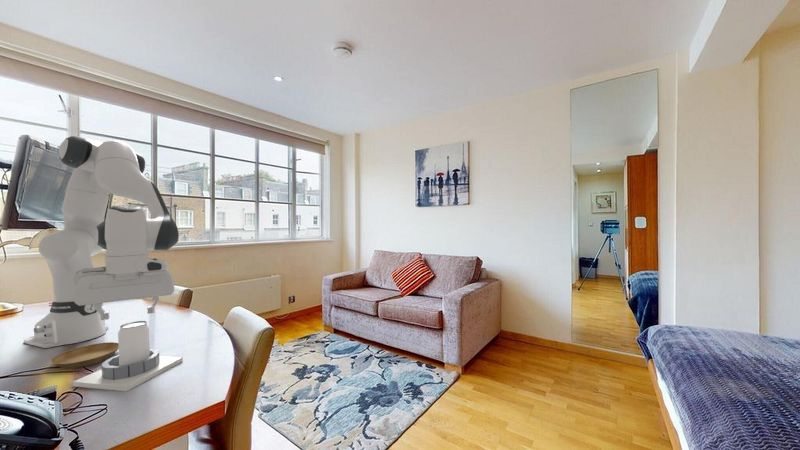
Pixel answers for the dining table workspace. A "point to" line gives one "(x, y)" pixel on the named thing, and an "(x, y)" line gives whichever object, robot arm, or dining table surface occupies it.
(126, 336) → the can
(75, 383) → the housing base
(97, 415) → the dining table surface
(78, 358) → the plant saucer
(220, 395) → the dining table surface
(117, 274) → the robot arm
